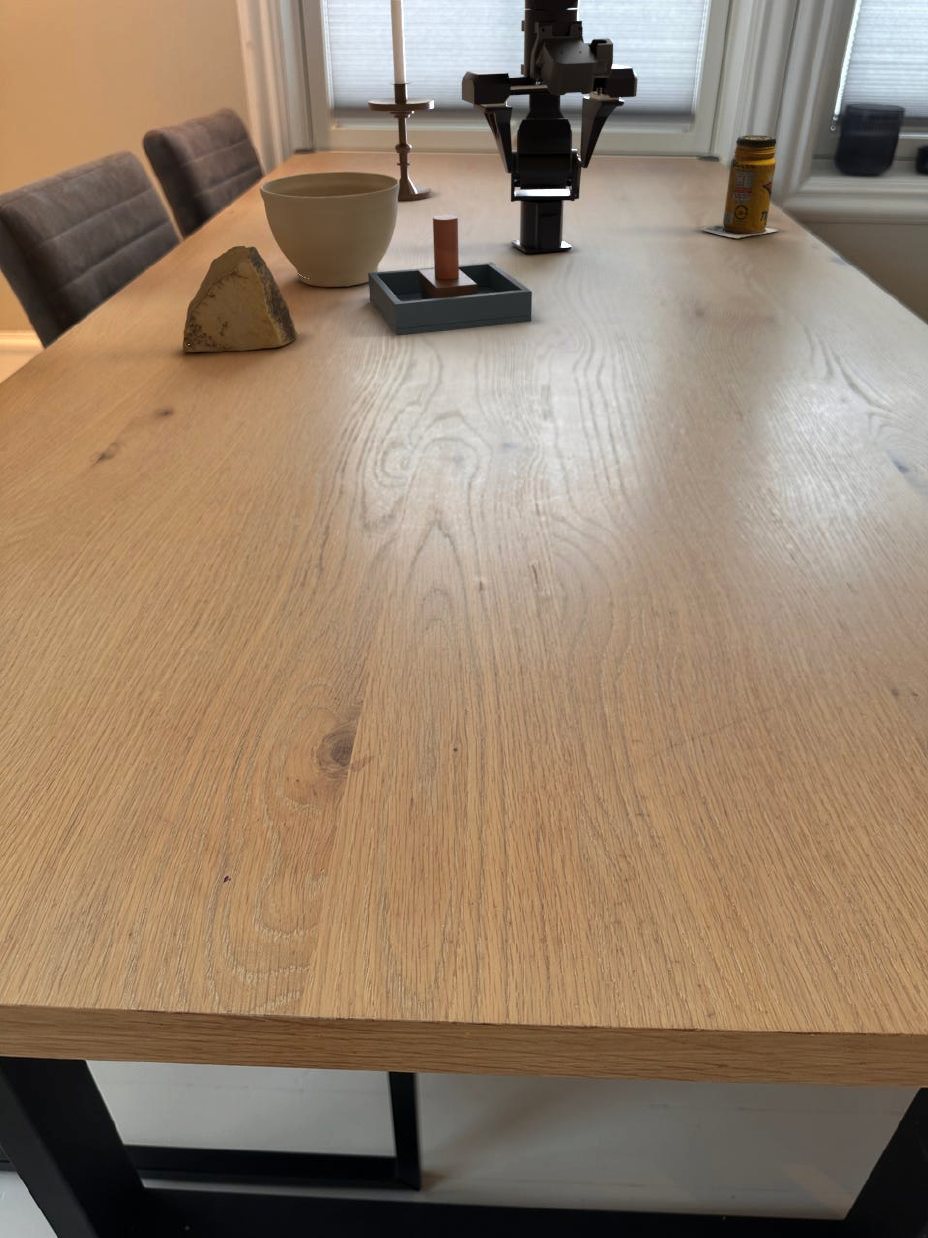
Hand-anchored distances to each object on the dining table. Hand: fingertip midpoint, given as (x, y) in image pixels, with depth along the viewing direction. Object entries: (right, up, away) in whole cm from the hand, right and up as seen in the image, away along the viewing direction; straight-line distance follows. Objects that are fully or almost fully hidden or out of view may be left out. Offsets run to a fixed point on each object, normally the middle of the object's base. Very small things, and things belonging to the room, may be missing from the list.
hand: (546, 170), depth 109 cm
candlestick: (-20, +21, +54) cm, 62 cm away
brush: (-11, -17, -6) cm, 22 cm away
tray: (-11, -18, -5) cm, 22 cm away
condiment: (+30, +3, +26) cm, 40 cm away
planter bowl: (-25, -10, +7) cm, 28 cm away
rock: (-32, -25, -14) cm, 43 cm away
